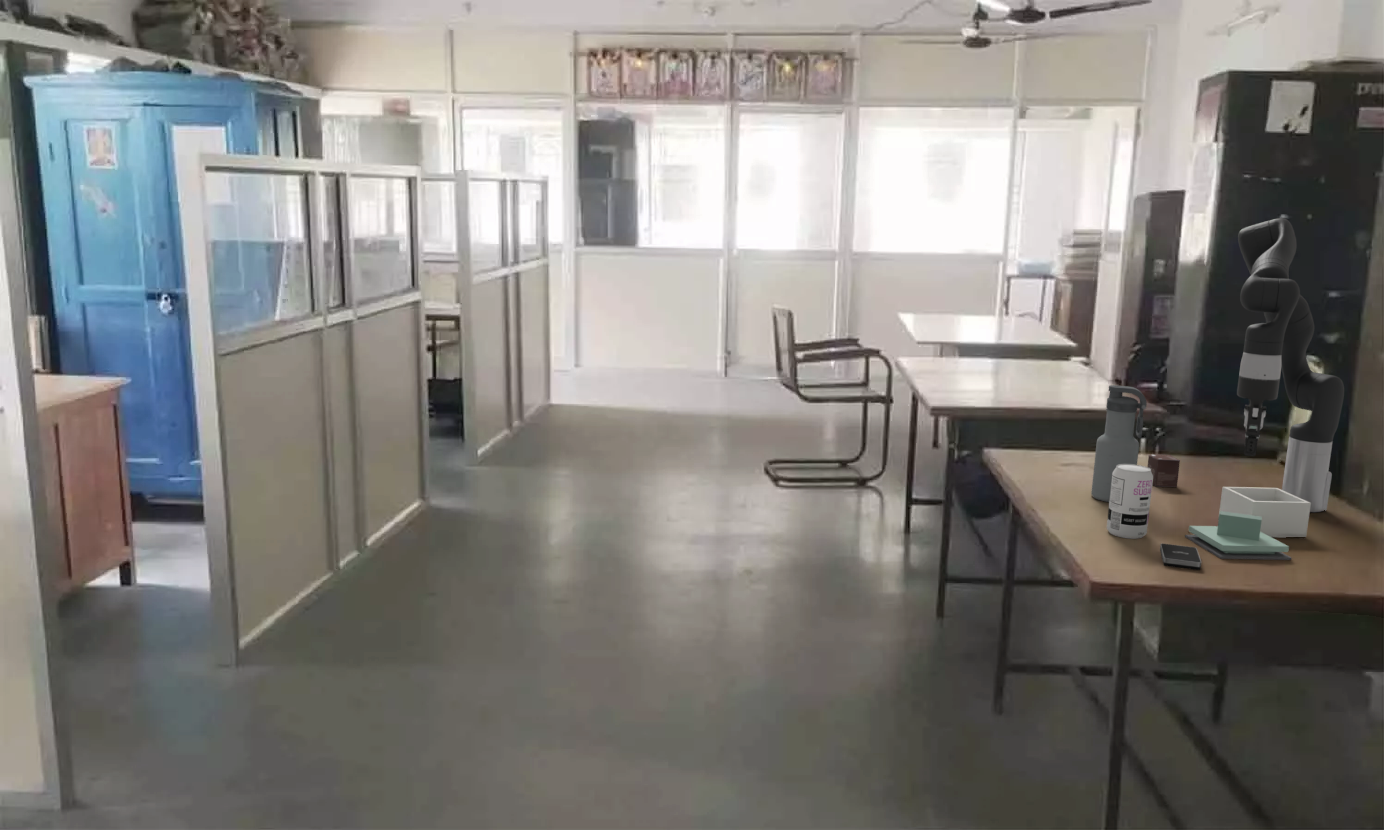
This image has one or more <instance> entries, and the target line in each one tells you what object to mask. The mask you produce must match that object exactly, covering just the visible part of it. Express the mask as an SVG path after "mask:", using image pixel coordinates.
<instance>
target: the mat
mask: <svg viewBox="0 0 1384 830" xmlns="http://www.w3.org/2000/svg"><path fill="white" fill-rule="evenodd" d="M1184 538H1186V539H1187V540H1189V541H1191V542H1193V543H1194V544H1196V545H1197V546H1199V547H1201V548H1202V549H1204V550H1206V551H1207V552H1208V553H1211V554H1212V555H1214V556H1215V557H1217V558H1218V559H1220V560H1267V561H1268V560H1269V561H1270V560H1274V561H1278V560H1279V561H1280V560H1281V561H1282V560H1283V561H1291V560H1292V559H1293V558H1292V557H1291V556H1290V555H1288V554H1286V553H1285V552H1275V554H1244V553H1224V552H1223V551H1221V550H1219V549H1218V548H1216V547H1214V546H1212V545H1211V544H1209V543H1207V542H1206V541H1204V540H1202V539H1201V538H1200V537H1198V536H1196V535H1194V534H1185V535H1184Z"/></svg>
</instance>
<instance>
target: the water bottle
mask: <svg viewBox="0 0 1384 830" xmlns="http://www.w3.org/2000/svg"><path fill="white" fill-rule="evenodd" d="M1108 391H1109V394H1108V398H1107V399H1106V407H1105V410H1106V419H1105V426H1104V433H1103V434H1102V435H1100V436H1099V437H1097V440H1096V447H1095V454H1094V455H1095V456H1094V463H1093V465H1094V466H1093V475H1092V484H1091V492H1090V493H1091V496H1092V497H1093V498H1094V499H1096V500H1098V501H1102V502H1105V503H1109V501H1110V492H1111V483H1112V473H1113V471H1114V470H1115V468H1116V466H1117V465H1119V464H1134V465H1138V460H1139V459H1138V458H1139V450H1140V443H1139V441H1138V439H1136V438H1135V437H1134V432H1135V434H1136V437H1137V438H1140V439H1141V438H1142V437H1143V427H1144V411H1145V410H1146V409H1147V399H1146V397H1145V395H1144V394H1143V393H1142V391H1141V390H1140V389H1137V388H1136V387H1133V386H1127V385H1126V386H1124V385H1115V384H1113V385H1109V386H1108ZM1123 393H1124V394H1132V395H1135V396H1136V397H1137V398H1138V399H1139V401H1138V400H1137V399H1136V398H1133V397H1131V396H1125V395H1123ZM1138 409H1139V411H1138ZM1137 412H1138V414H1137ZM1136 414H1137V419H1136ZM1135 420H1136V430H1135ZM1134 430H1135V431H1134Z"/></svg>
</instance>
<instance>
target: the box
mask: <svg viewBox="0 0 1384 830" xmlns="http://www.w3.org/2000/svg"><path fill="white" fill-rule="evenodd" d="M1180 462H1181V460H1180V459H1178V458H1176V457H1174V456H1172V455H1171V454H1148V459H1147V467H1148V468H1150V469H1151V473H1152V475H1153V483H1152V486H1153V487H1163V488H1164V487H1166V488H1168V487H1169V488H1176V487H1178V481H1179V473H1180V464H1181V463H1180Z"/></svg>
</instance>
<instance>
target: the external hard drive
mask: <svg viewBox="0 0 1384 830" xmlns="http://www.w3.org/2000/svg"><path fill="white" fill-rule="evenodd" d="M1159 553H1160V556H1161V557H1160V558H1161V561H1162V565H1163V566H1164V567H1169V568H1178V569H1186V570H1193V571H1200V570H1201V569H1202V568H1201V567H1202V559H1201V556H1200V554H1199V551H1198V548H1197V547H1195V546H1187V545H1180V544H1179V545H1177V544H1172V543H1162V542H1161V543H1160V546H1159Z"/></svg>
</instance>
